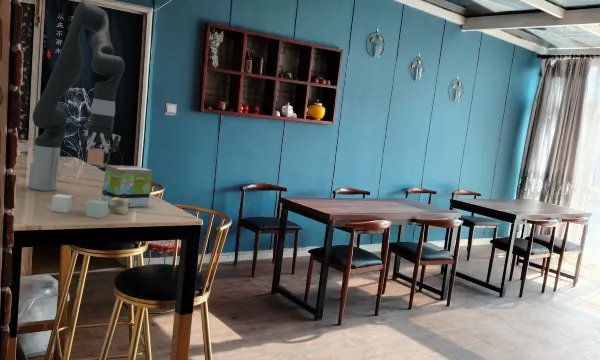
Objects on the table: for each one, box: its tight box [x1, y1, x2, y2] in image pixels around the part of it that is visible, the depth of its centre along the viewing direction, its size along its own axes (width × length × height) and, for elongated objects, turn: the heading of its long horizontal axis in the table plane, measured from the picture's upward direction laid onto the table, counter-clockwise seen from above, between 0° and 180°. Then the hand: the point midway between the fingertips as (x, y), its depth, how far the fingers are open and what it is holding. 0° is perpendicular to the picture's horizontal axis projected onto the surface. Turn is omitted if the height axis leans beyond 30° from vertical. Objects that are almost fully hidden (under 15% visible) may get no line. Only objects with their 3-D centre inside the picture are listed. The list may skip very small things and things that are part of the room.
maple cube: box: [109, 197, 129, 216], centre depth 185 cm, size 5×5×5 cm
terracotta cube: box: [86, 147, 108, 167], centre depth 179 cm, size 5×5×5 cm
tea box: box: [100, 164, 154, 208], centre depth 199 cm, size 15×10×15 cm, turn 148°
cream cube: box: [50, 193, 73, 214], centre depth 175 cm, size 5×5×5 cm
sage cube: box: [84, 199, 109, 219], centre depth 175 cm, size 5×5×5 cm
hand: (97, 162), depth 179 cm, fingers closed on terracotta cube, 5 cm apart
